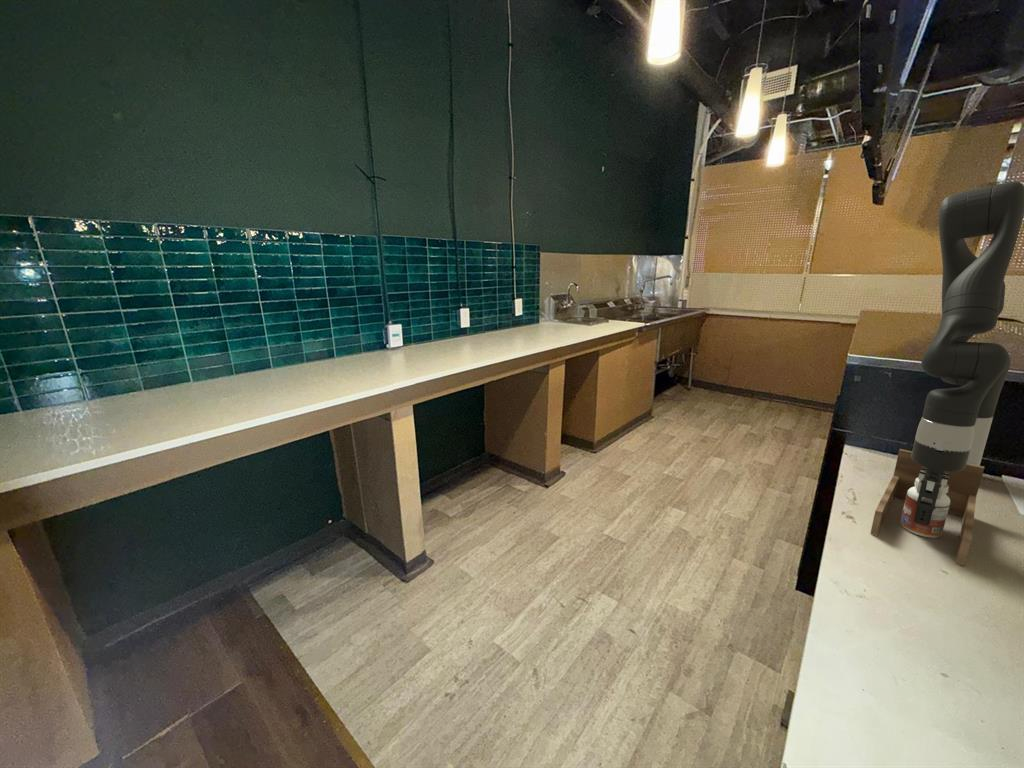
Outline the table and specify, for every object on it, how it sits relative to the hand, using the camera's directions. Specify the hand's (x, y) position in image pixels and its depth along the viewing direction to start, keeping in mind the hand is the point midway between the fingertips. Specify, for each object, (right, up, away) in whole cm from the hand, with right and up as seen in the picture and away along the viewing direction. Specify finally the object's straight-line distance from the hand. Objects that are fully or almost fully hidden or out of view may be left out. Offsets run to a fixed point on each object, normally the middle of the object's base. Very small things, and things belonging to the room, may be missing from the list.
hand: (923, 515), depth 82 cm
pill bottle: (0, -3, +1) cm, 4 cm away
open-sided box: (+2, -3, +2) cm, 4 cm away
